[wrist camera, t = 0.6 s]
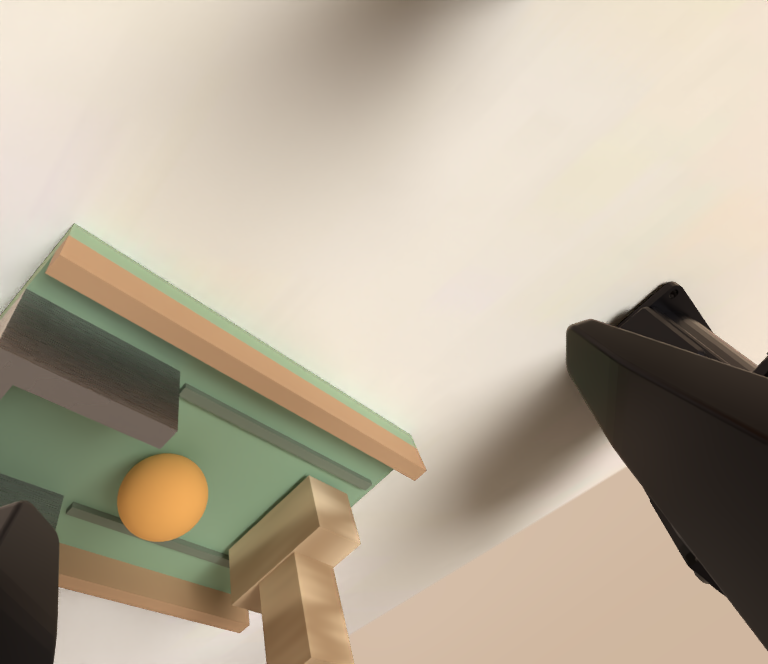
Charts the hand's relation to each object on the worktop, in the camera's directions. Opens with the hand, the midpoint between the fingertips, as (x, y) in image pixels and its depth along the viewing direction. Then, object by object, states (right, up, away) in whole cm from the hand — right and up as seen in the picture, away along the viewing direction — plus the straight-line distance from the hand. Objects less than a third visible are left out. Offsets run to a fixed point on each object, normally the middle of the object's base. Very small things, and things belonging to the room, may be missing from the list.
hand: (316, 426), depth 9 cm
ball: (-8, -5, +14) cm, 17 cm away
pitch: (-8, -4, +17) cm, 19 cm away
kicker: (-4, -8, +19) cm, 21 cm away
